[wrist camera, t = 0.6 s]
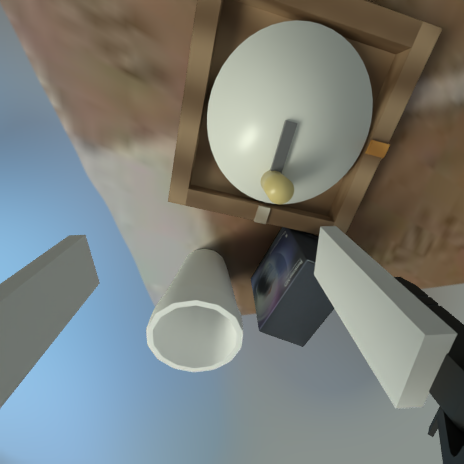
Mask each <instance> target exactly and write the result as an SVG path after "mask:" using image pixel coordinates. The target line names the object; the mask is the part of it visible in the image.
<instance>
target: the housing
mask: <svg viewBox="0 0 464 464" xmlns="http://www.w3.org/2000/svg"><path fill="white" fill-rule="evenodd" d="M296 20H298V21H310V22H314V23H318V24H322V25H324V26H326V27H328V28H331V29H333V30H334V31H336V32H337V33H339V34H340V35H342V36H343V37H344V38H345V39H346V40H347V41H348V42H349V43H350V44H351V45H352V46H353V47H354V49H355V50H356V51H357V52H358V54H359V56H360V57H361V59H362V61H363V63H364V65H365V67H366V70H367V73H368V75H369V79H370V84H371V89H372V98H373V107H372V118H371V124H370V128H369V132H368V136H367V139H366V141H365V144H364V146H363V148H362V150H361V152H360V154H359V156H358V158H357V159H356V161H355V162H354V164H353V166H352V167H351V168H350V169H349V170H348V172H347V173H346V174H345V175H344V176H343V177H342V178H341V179H340V180H339V181H338V182H337V183H336V184H334V185H333V186H332V187H331V188H329V189H328V190H326V191H325V192H323V193H321V194H319V195H317V196H315V197H313V198H311V199H308V200H305V201H302V202H297V203H291V204H273V203H267V202H263V201H259V200H256V199H254V198H252V197H250V196H248V195H246V194H244V193H243V192H241V191H240V190H239V189H237V188H236V187H235V186H234V185H233V184H232V183H231V182H230V181H229V180H228V179H227V178H226V177H225V175H224V174H223V173H222V171H221V170H220V168H219V166H218V164H217V162H216V161H215V158H214V156H213V153H212V150H211V147H210V143H209V139H208V130H207V112H208V103H209V99H210V95H211V91H212V88H213V85H214V83H215V80H216V77H217V76H218V74H219V72H220V70H221V68H222V66H223V65H224V63H225V62H226V60H227V59H228V57H229V56H230V55H231V54H232V53H233V51H234V50H235V49H236V48H237V47H238V46H239V45H240V44H241V43H242V42H244V41H245V40H246V39H247V38H248V37H250V36H251V35H253V34H255V33H256V32H258V31H259V30H261V29H264V28H266V27H268V26H271V25H273V24H277V23H281V22H286V21H296ZM441 30H442V28H440V27H437V26H434V25H432V24H429V23H426V22H423V21H420V20H418V19H415V18H412V17H409V16H407V15H404V14H401V13H398V12H395V11H393V10H390V9H387V8H384V7H382V6H379V5H376V4H373V3H371V2H368V1H365V0H197V5H196V12H195V19H194V26H193V33H192V40H191V47H190V54H189V60H188V67H187V74H186V81H185V88H184V95H183V102H182V109H181V116H180V122H179V129H178V136H177V143H176V150H175V157H174V164H173V171H172V178H171V184H170V191H169V198H168V202H172V203H176V204H181V205H186V206H190V207H195V208H199V209H204V210H208V211H213V212H217V213H222V214H226V215H231V216H235V217H240V218H244V219H249V220H254V222H258V223H262V224H266V223H267V224H272V225H276V226H281V227H285V228H290V229H294V230H299V231H303V232H308V233H312V234H317V235H319V232H320V227H322V226H336V227H338V228H339V229H340V230H341V231H342V232H343V233H344V234H346V232H347V230H348V228H349V226H350V224H351V222H352V220H353V217H354V215H355V213H356V211H357V209H358V207H359V205H360V203H361V200H362V198H363V196H364V194H365V192H366V190H367V188H368V186H369V183H370V181H371V179H372V177H373V175H374V173H375V171H376V169H377V166H378V164H379V162H380V160H381V158H384V157H385V155H386V153H387V150H388V148H389V146H390V145H389V144H388V143H389V141H390V139H391V137H392V135H393V132H394V130H395V128H396V126H397V124H398V122H399V120H400V118H401V115H402V113H403V111H404V109H405V107H406V105H407V103H408V101H409V98H410V96H411V94H412V92H413V90H414V88H415V86H416V83H417V81H418V79H419V77H420V75H421V73H422V71H423V69H424V66H425V64H426V62H427V60H428V58H429V56H430V54H431V52H432V49H433V47H434V45H435V43H436V41H437V39H438V37H439V35H440V32H441Z"/></svg>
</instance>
